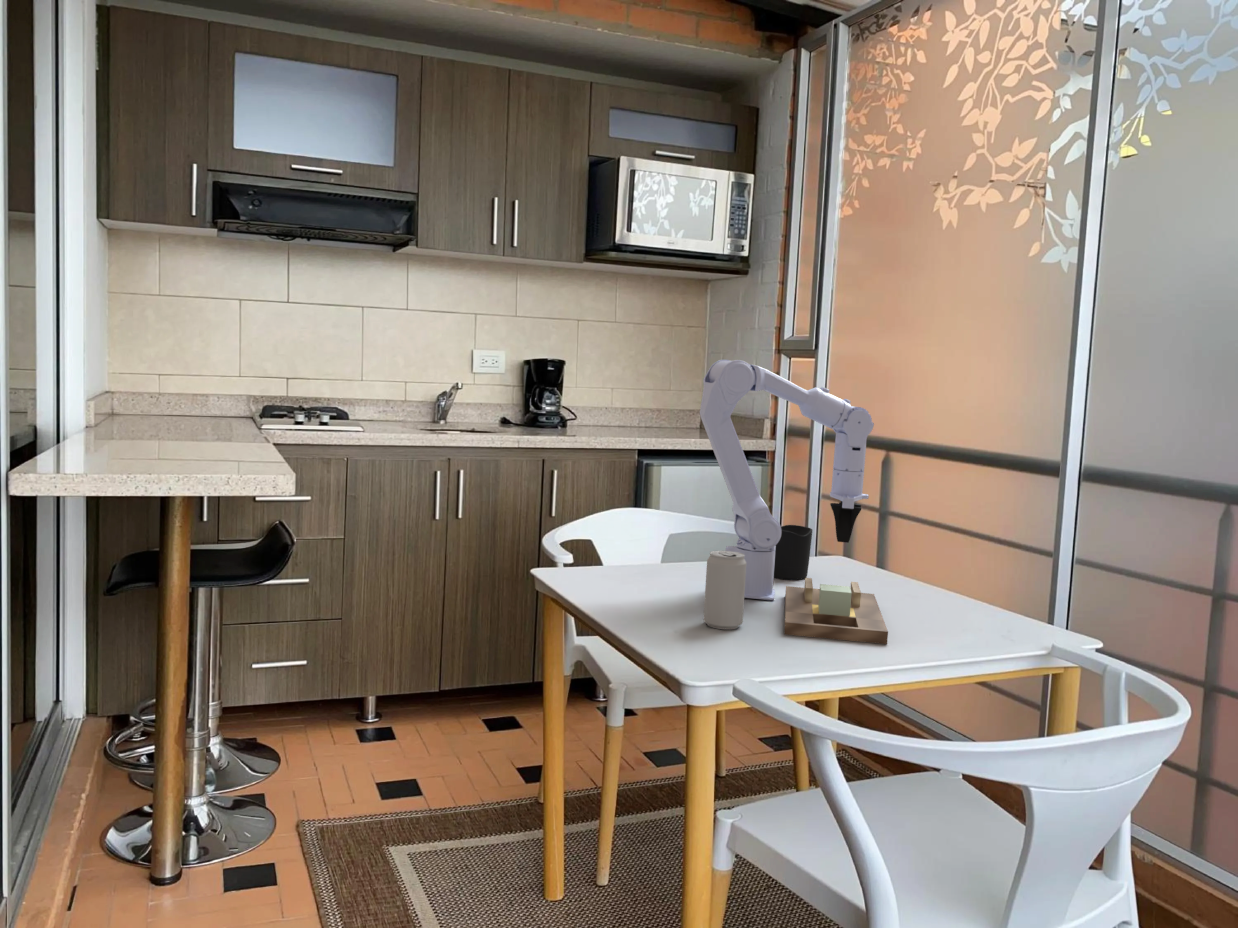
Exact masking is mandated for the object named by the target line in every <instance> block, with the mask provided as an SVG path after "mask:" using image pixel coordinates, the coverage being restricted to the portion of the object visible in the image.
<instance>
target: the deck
mask: <svg viewBox="0 0 1238 928" xmlns="http://www.w3.org/2000/svg"><path fill="white" fill-rule="evenodd" d="M859 585H860V584H859V582H858V581H850V589H851V592H852V595H851V608H850V617H849V616H838V615H828V614H819V608H818V605H819V592H820V588H814V586H813V578H811V577H806V578H805V579H804V586H803V587H800V586H799V587H798V586H789V585H786V586H785V596H784V597H785V598H784V599H785V601H784V631H783V632H784V635H786V636H787V635H788V636H796V637H797V636H798V637H808V638H818V639H827V640H828V639H831V640H838V641H847V642H848V641H850V642H860V643H872V644H880V645H888V638H889V637H888V636H889V631H888V628H887V627H888V626H887V625H886V622H885V620H884V617H883V615H882V612H881V611H882V610H881V609H880V607H879V604H878V600H877V598H876V595H875V593H866V592H861V588H860V586H859Z"/></svg>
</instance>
